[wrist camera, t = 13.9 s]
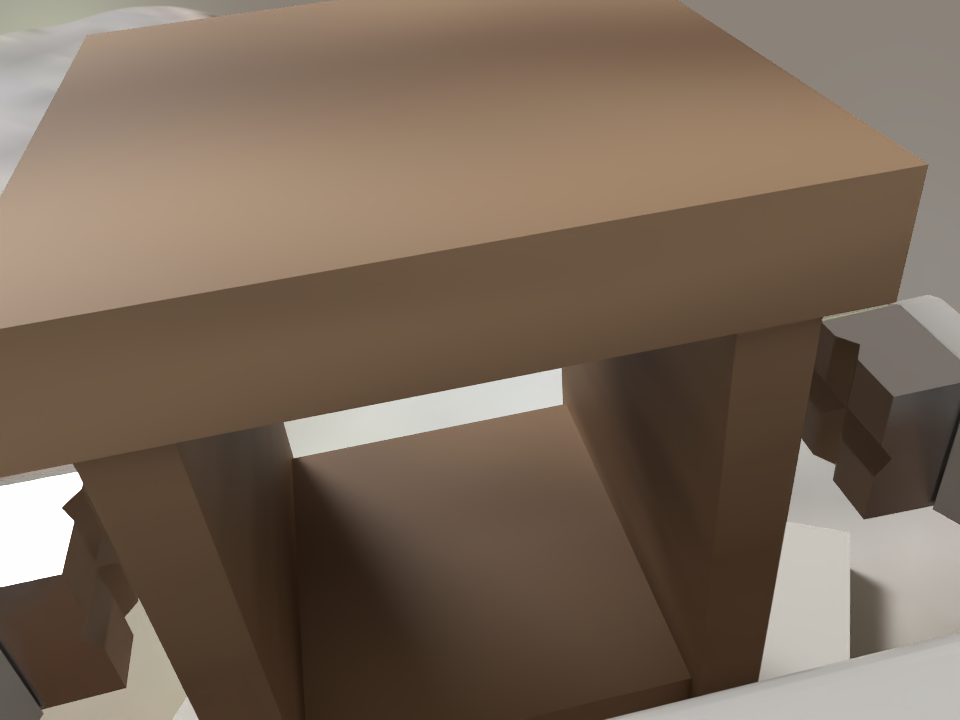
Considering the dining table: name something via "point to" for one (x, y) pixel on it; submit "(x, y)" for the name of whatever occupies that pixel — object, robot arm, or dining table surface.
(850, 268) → the stool
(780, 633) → the mat
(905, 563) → the dining table surface
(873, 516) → the robot arm
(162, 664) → the dining table surface
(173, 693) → the dining table surface
